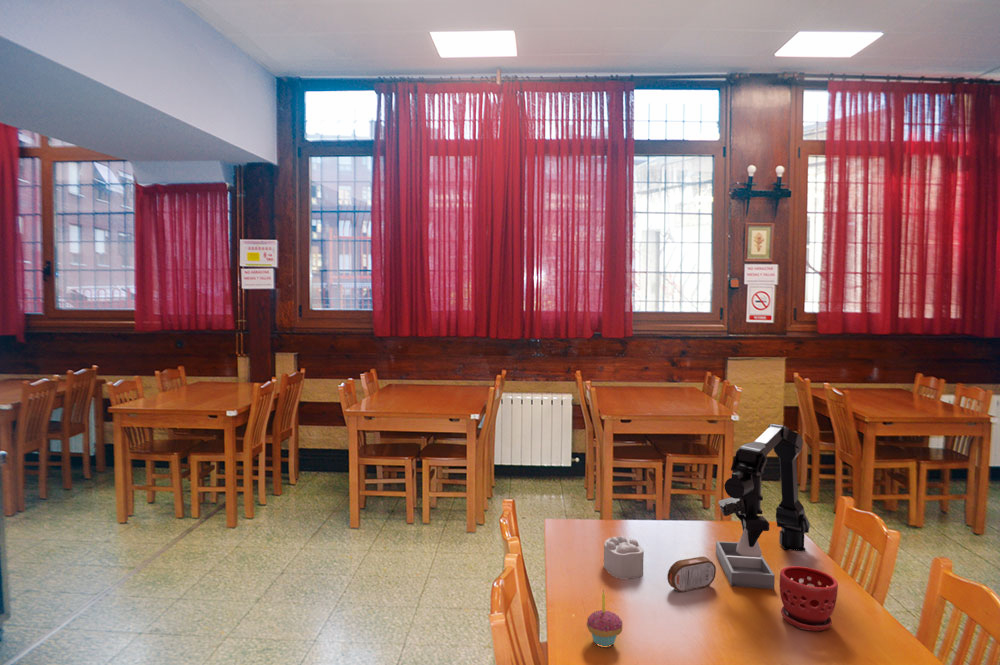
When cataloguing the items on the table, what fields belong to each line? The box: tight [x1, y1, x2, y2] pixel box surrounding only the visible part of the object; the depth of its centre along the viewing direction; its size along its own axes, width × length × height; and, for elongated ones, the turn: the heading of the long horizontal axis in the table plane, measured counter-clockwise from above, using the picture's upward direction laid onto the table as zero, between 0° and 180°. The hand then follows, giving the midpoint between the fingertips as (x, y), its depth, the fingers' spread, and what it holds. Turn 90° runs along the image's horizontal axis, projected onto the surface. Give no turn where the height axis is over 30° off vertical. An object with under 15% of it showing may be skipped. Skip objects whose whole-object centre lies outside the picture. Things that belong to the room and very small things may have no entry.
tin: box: [667, 556, 717, 593], centre depth 176 cm, size 15×3×8 cm, turn 111°
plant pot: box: [779, 565, 839, 632], centre depth 158 cm, size 13×13×12 cm
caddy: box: [715, 540, 776, 590], centre depth 187 cm, size 12×22×4 cm, turn 172°
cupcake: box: [586, 589, 623, 646], centre depth 149 cm, size 9×8×12 cm
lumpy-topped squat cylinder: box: [603, 535, 645, 580], centre depth 188 cm, size 10×13×9 cm
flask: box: [736, 528, 763, 557], centre depth 181 cm, size 7×7×10 cm
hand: (748, 542), depth 181 cm, fingers closed on flask, 5 cm apart
